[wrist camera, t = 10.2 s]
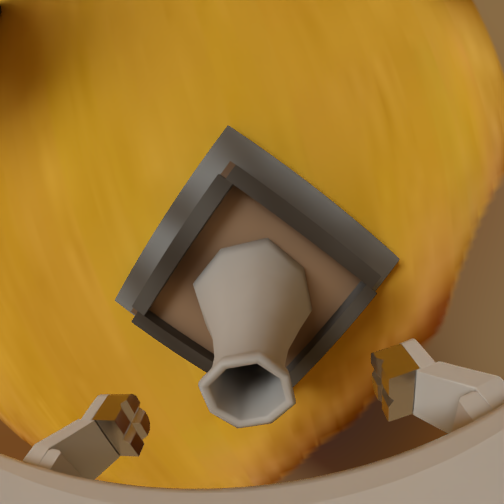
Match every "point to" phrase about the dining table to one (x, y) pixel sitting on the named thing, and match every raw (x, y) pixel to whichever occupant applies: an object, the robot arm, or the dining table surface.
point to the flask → (251, 330)
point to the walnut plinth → (273, 180)
